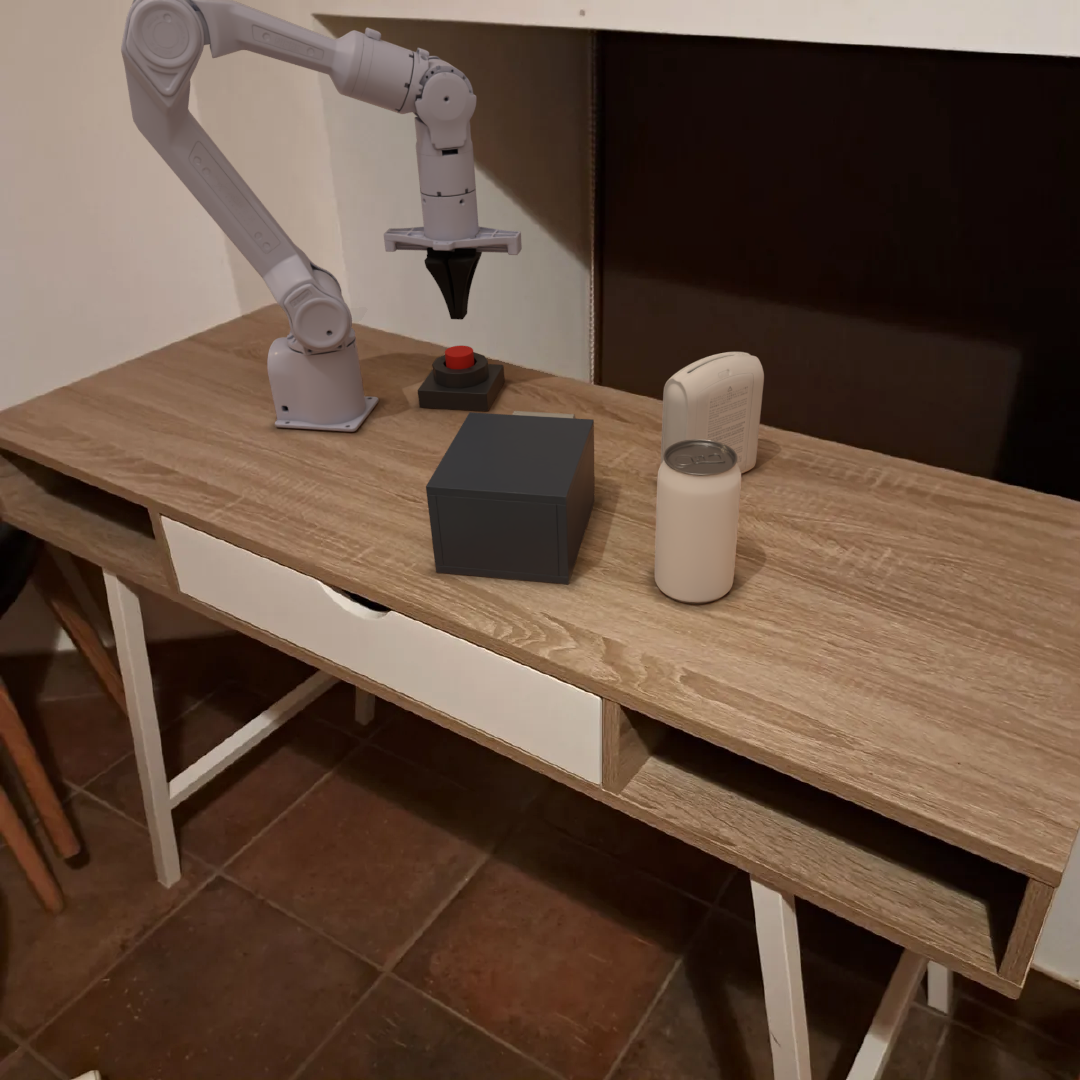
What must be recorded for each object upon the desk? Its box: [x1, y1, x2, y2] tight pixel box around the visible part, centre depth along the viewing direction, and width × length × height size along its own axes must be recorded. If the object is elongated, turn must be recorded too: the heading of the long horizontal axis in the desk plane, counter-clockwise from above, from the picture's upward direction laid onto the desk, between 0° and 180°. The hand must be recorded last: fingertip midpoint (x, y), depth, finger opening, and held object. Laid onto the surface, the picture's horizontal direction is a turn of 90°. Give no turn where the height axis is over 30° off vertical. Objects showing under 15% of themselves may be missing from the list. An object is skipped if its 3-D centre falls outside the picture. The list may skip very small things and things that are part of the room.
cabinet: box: [425, 411, 596, 585], centre depth 89 cm, size 14×12×9 cm
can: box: [654, 439, 742, 605], centre depth 81 cm, size 6×6×12 cm
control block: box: [417, 351, 505, 412], centre depth 115 cm, size 8×8×4 cm
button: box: [444, 345, 474, 369], centre depth 114 cm, size 3×3×2 cm
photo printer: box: [660, 351, 765, 475], centre depth 95 cm, size 10×4×12 cm, turn 123°
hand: (459, 316), depth 111 cm, fingers closed
